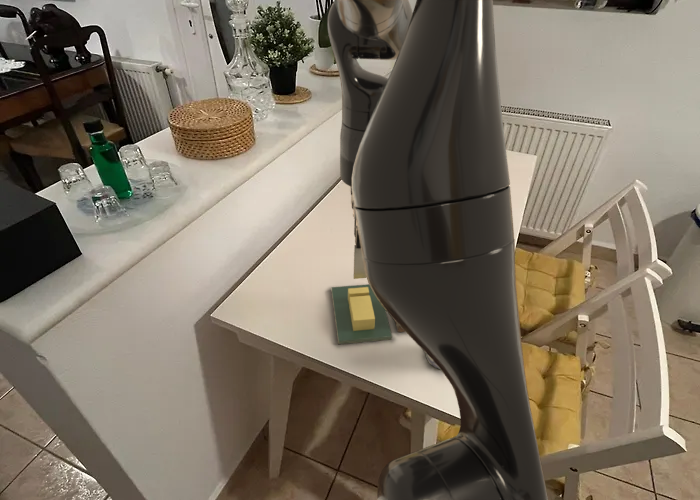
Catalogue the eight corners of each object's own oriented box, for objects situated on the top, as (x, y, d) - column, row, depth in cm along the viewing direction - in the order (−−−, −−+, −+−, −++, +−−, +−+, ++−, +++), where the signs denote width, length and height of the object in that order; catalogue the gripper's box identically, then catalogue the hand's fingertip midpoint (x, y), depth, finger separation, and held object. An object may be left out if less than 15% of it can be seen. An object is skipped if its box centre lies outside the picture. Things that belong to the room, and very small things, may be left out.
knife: (366, 280, 80) (370, 220, 71) (354, 281, 80) (356, 221, 71) (365, 274, 81) (368, 213, 72) (352, 275, 81) (354, 214, 72)
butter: (374, 329, 81) (375, 318, 79) (353, 331, 80) (353, 320, 78) (369, 305, 85) (369, 295, 83) (349, 307, 85) (349, 296, 83)
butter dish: (391, 339, 80) (392, 336, 80) (338, 344, 79) (338, 341, 78) (378, 286, 91) (378, 283, 90) (331, 290, 90) (331, 287, 89)
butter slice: (368, 302, 86) (369, 292, 84) (348, 304, 85) (348, 293, 84) (367, 297, 87) (368, 286, 85) (347, 298, 87) (348, 288, 85)
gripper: (335, 131, 68) (336, 219, 80) (345, 174, 58) (344, 269, 69) (381, 129, 69) (375, 216, 80) (400, 172, 59) (390, 265, 70)
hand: (361, 240), depth 75 cm, fingers closed on knife, 2 cm apart
